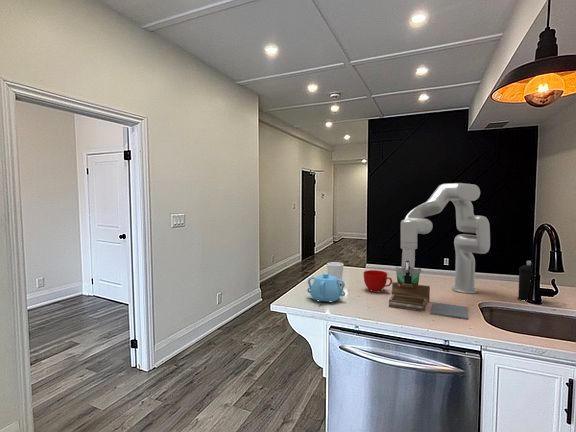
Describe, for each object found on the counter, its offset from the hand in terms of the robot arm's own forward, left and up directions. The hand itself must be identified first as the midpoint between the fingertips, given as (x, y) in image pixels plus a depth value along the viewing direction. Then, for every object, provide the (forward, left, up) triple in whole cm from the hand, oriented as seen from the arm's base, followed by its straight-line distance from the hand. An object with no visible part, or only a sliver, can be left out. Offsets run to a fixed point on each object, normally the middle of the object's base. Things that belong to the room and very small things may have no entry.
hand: (409, 281), depth 157 cm
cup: (-19, -44, -12) cm, 50 cm away
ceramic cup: (-17, -18, -12) cm, 28 cm away
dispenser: (-2, 0, -12) cm, 12 cm away
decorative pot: (+10, -39, -12) cm, 42 cm away
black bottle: (-34, +53, -12) cm, 64 cm away
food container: (0, 0, -4) cm, 4 cm away
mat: (+1, +18, -12) cm, 21 cm away
